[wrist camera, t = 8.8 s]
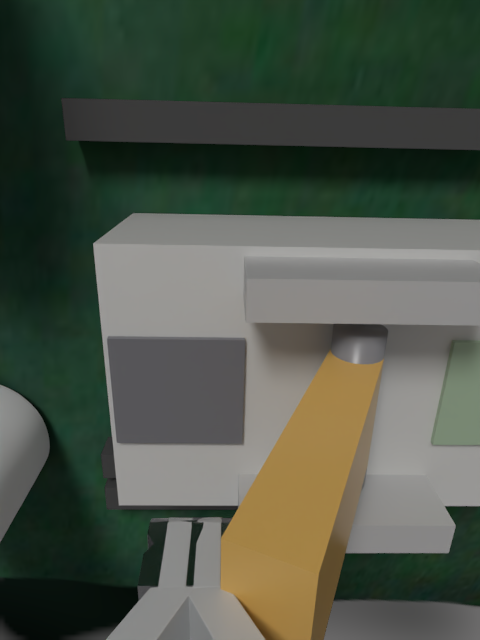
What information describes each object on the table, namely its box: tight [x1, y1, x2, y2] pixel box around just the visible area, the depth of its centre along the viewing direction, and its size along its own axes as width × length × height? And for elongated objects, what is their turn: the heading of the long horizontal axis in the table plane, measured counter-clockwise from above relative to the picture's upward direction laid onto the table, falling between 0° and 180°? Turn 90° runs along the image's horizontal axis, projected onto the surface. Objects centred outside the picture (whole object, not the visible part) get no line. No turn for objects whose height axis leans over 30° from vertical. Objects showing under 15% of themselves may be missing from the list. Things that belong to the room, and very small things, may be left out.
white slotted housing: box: [93, 213, 480, 553], centre depth 17 cm, size 16×10×8 cm, turn 89°
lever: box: [220, 324, 388, 640], centre depth 11 cm, size 2×6×9 cm, turn 178°
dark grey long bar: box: [61, 98, 480, 150], centre depth 17 cm, size 16×1×1 cm, turn 89°
